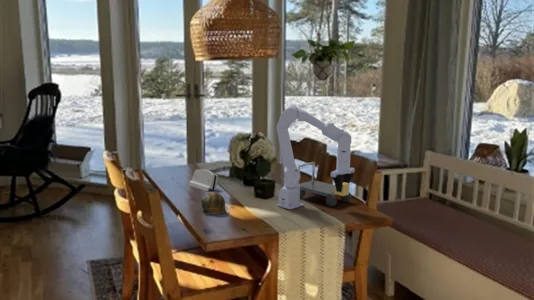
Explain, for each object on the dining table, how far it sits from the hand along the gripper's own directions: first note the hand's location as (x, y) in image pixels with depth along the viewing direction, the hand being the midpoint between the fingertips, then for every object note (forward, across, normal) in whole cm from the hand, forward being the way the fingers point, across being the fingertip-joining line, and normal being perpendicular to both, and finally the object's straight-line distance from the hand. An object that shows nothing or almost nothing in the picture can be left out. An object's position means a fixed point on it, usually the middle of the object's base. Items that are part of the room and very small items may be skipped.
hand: (341, 190), depth 217 cm
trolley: (+8, +6, +15) cm, 18 cm away
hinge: (+9, -22, +68) cm, 73 cm away
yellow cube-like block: (+2, 0, 0) cm, 2 cm away
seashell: (+9, -44, +35) cm, 56 cm away
